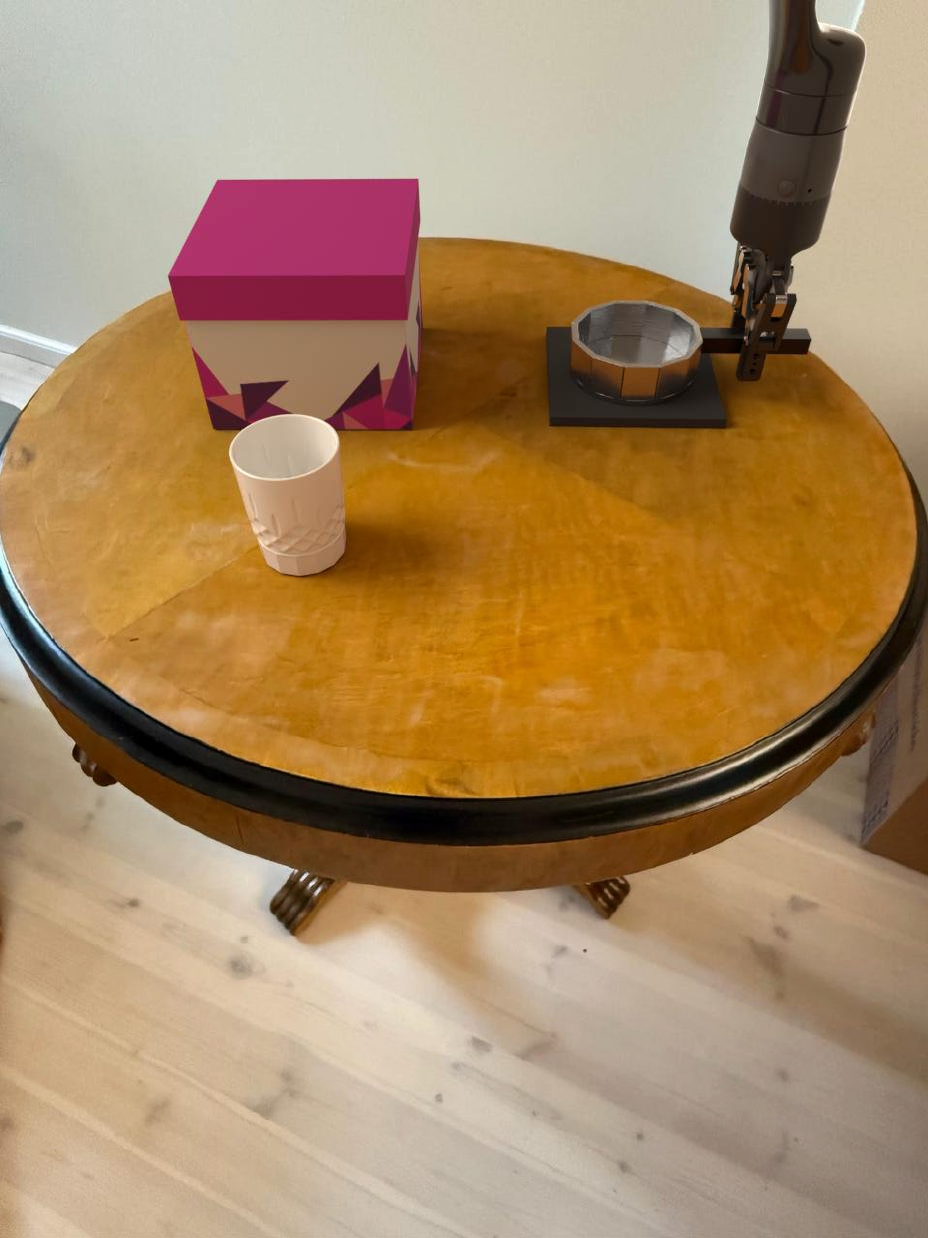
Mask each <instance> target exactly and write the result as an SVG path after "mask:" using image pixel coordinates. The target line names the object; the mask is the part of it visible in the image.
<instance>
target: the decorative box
mask: <svg viewBox="0 0 928 1238" xmlns="http://www.w3.org/2000/svg"><path fill="white" fill-rule="evenodd" d="M419 182H420V181H419V178H293V179H292V178H286V179H284V178H282V179H281V178H277V179H276V178H275V179H274V178H272V179H269V178H268V179H267V178H265V179H259V178H258V179H256V178H255V179H217V180H216V181H215V183H214V185H213V187H212V189H211V191H210V193H209V195H208V197H207V198H206V200H205V202H204V205H203V207H202V209H201V211H200V212H199V214H198V216H197V218H196V220H195V222H194V223H193V226H192V228H191V230H190V231H189V233H188V235H187V238H186V239H185V242H184V243H183V245H182V247H181V249H180V252H179V253H178V255H177V256H176V258H175V261H174V263H173V265H172V267H171V268H170V270H169V272H168V274H167V279H168V282H169V286H170V289H171V293H172V297H173V301H174V305H175V308H176V312H177V316H178V320H179V321H180V322H181V321H182V322H184V324H185V329H186V332H187V336H188V340H189V344H190V347H191V350H192V354H193V358H194V363H195V366H196V370H197V374H198V378H199V381H200V384H201V388H202V392H203V396H204V400H205V403H206V407H207V411H208V415H209V419H210V422H211V425H212V426H211V427H212V430H243V429H244V428H246V427H247V426H249V425H251V424H253V423H255V422H257V421H259V420H262V419H265V418H268V417H272V416H277V415H285V414H300V415H307V416H312V417H315V418H318V419H321V420H323V421H325V422H326V423H328V424H329V425H331V426H332V427H333V428H334V429H335V430H413V425H414V424H413V423H414V413H415V405H416V395H417V385H418V375H419V366H420V356H421V347H422V340H423V339H422V337H423V328H424V322H423V321H424V320H423V303H422V286H421V266H420V265H421V263H420V247H419V246H420V244H419V237H420V235H419V234H420V227H421V203H420V183H419Z"/></svg>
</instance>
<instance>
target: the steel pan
mask: <svg viewBox="0 0 928 1238" xmlns="http://www.w3.org/2000/svg"><path fill="white" fill-rule="evenodd" d="M570 327H571V333H570V345H569V373H570V376H571V378H572V380H573V381H574V383H575V384H576V385H577V386H578V387H579V388H580V389H582V390H583V391H584V392H586V393H587V394H589V395H591V396H593V397H595V398H598V399H600V400H603V401H606V402H610V403H614V404H619V405H627V406H647V405H655V404H661V403H664V402H668V401H670V400H673V399H675V398H677V397H679V396H681V395H682V394H683V393H685V392H686V391H687V390H688V389H689V387H690V386H691V384H692V382H693V379H694V377H695V376H696V374H697V369H698V364H699V359H700V354H701V353H703V354H710V355H711V354H714V355H716V354H717V355H740V352H741V348H742V344H743V336H744V331H745V328H730V327H707V326H705V327H704V326H703V327H701V326H700V325H699V323H698V322H696V321H695V320H694V319H692V318H691V317H690V316H688V315H687V314H685V313H684V312H683V311H681V310H680V309H678V308H675V307H672V306H669V305H665V304H661V303H658V302H654V301H651V300H629V299H628V300H622V299H621V300H618V299H617V300H611V301H606V302H603V303H600V304H596V305H594V306H593V305H592V306H589V307H587V308H585V309H583V311H582V312H581V313H579V315H578V316H577V317H576V318H575V319H573V321H572V322H571V324H570ZM812 340H813V339H812V337H811V334H810V331H809V329H808V328H807V327H805V328H803V327H802V328H799V327H798V328H797V327H796V328H795V327H794V328H793V327H787V328H786V331H785V333H784V336H783V338H782V341H781V344H780V346H779V349H778V350H768V351H767V355H794V356H795V355H797V356H798V355H799V356H800V355H801V356H803V355H804V356H805V355H806V356H807V355H808V353H809V349H810V347H811V344H812Z"/></svg>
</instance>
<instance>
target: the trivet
mask: <svg viewBox="0 0 928 1238" xmlns="http://www.w3.org/2000/svg"><path fill="white" fill-rule="evenodd" d="M545 329H546V330H545V333H546V334H545V343H546V344H545V345H546V368H547V392H548V393H547V395H548V419H549V421H548V422H549V427H554V426H555V427H612V428H613V427H615V428H617V427H618V428H622V427H623V428H682V429H683V428H687V429H688V428H689V429H725V428H726V425H727V421H728V419H727V415H726V411H725V406H724V402H723V399H722V395H721V393H720V388H719V384H718V380H717V378H716V377H717V376H716V373H715V370H714V366H713V362H712V358H711V354H703V353H701V354H700V359H699V364H698V369H697V374H696V376H695V377H694V379H693V382H692V384H691V386H690V387H689V389H688V390H687V391H686V392H685V393H683V394H682V395H681V396H679V397H677V398H675V399H673V400H670V401H668V402H664V403H661V404H655V405H647V406H627V405H619V404H614V403H610V402H606V401H603V400H600V399H598V398H595V397H593V396H591V395H589V394H587V393H586V392H584V391H583V390H582V389H580V388H579V387H578V386H577V385H576V384H575V383H574V381H573V380H572V378H571V376H570V373H569V345H570V333H571V326H546V328H545Z"/></svg>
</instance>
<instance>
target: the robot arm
mask: <svg viewBox="0 0 928 1238" xmlns="http://www.w3.org/2000/svg"><path fill="white" fill-rule="evenodd" d="M817 3H818V0H768V37H767V38H768V42H767V57H766V64H765V69H764V74H763V79H762V84H761V89H760V94H759V98H758V102H757V108H756V113H755V116H754V121H753V125H752V127H751V131H750V133H749V136H748V139H747V142H746V146H745V150H744V155H743V160H742V164H741V169H740V174H739V179H738V183H737V188H736V193H735V199H734V203H733V208H732V211H731V217H730V221H729V232H730V235H731V236H732V237H733V239H734V240H735V241H737V244H736V250H735V258H734V264H733V269H732V276H731V282H730V286H729V292H730V296H733V298H732V301H731V304H730V305H731V310H732V312H733V313H732V316H731V321H730V326H729V328H745V331H744V336H743V344H742V348H741V352H740V354H739V356H738V361H737V365H736V370H735V377H736V380H737V381H739V382H757V381H759V380H760V379H761V378H762V373H763V370H764V367H765V362H766V358H767V355H768V354H767V351H768V350H778V349H779V346H780V344H781V341H782V338H783V336H784V333H785V331H786V328H788V325H789V323H790V320H791V318H792V315H793V312H794V310H795V308H796V305H797V303H798V302H797V301H798V298H797V294H796V293H795V292H789V288H790V286H791V285H792V283H793V278H794V272H795V266H794V264H793V263H792V262H793V261H792V259H793V258H794V256H796V255H797V254H799V253H801V252H803V251H806V250H808V249H810V248H812V247H814V246H815V245H816V244H817V242H818V241H819V240H820V238H821V235H822V231H823V227H824V224H825V221H826V216H827V214H828V209H829V206H830V203H831V200H832V199H831V198H832V195H833V193H834V189H835V186H836V182H837V179H838V175H839V171H840V167H841V164H842V159H843V156H844V149H845V143H846V136H847V131H848V126H849V123H850V119H851V115H852V112H853V110H854V109H853V108H854V105H855V101H856V98H857V95H858V91H859V86H860V85H861V84H860V83H861V80H862V76H863V73H864V69H865V65H866V59H867V44H866V41H865V40H864V38H863V37H862V36H861V35H860V34H859V33H857V32H855V31H854V30H851V29H849V28H845V27H842V26H838V25H833V24H830V23H825V22H821V21H819V20H818V14H817Z"/></svg>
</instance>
